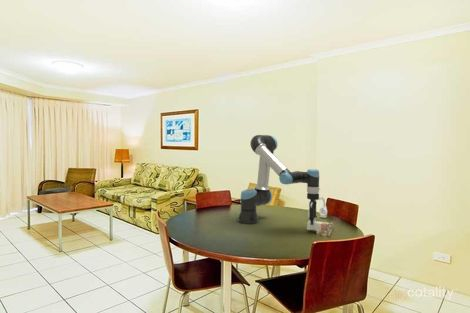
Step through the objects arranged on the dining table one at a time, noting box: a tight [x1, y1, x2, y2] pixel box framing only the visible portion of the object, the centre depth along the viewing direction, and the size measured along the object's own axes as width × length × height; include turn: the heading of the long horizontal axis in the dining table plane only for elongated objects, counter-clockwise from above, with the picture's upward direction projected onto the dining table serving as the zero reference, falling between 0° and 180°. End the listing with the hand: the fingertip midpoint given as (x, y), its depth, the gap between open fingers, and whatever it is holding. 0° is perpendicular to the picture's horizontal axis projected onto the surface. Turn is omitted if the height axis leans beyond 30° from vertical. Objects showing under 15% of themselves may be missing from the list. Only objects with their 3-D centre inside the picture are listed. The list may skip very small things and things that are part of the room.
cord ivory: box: [306, 220, 328, 231], centre depth 188 cm, size 12×4×4 cm, turn 65°
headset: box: [307, 196, 328, 221], centre depth 221 cm, size 20×7×18 cm, turn 130°
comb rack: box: [316, 221, 334, 238], centre depth 191 cm, size 8×21×5 cm, turn 155°
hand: (312, 228), depth 189 cm, fingers closed on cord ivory, 4 cm apart
